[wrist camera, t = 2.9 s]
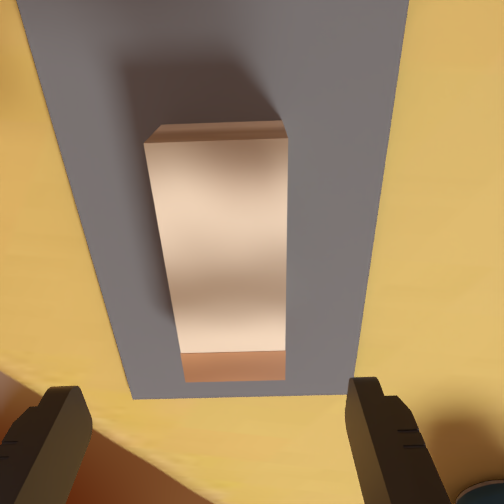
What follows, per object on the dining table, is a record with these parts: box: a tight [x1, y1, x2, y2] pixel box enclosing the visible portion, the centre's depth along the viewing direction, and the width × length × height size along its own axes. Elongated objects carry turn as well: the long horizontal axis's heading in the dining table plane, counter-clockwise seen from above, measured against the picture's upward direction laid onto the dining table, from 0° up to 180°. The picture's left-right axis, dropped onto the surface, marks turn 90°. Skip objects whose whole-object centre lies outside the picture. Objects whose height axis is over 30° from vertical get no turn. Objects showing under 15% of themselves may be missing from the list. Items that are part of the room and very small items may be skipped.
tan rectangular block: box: [144, 120, 288, 382], centre depth 17 cm, size 12×5×3 cm, turn 2°
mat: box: [16, 0, 409, 399], centre depth 19 cm, size 22×14×1 cm, turn 2°
